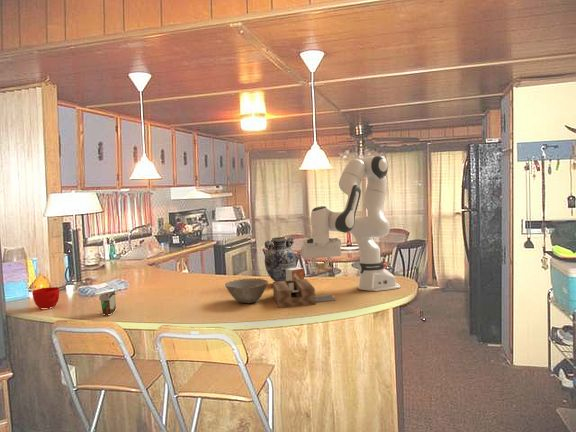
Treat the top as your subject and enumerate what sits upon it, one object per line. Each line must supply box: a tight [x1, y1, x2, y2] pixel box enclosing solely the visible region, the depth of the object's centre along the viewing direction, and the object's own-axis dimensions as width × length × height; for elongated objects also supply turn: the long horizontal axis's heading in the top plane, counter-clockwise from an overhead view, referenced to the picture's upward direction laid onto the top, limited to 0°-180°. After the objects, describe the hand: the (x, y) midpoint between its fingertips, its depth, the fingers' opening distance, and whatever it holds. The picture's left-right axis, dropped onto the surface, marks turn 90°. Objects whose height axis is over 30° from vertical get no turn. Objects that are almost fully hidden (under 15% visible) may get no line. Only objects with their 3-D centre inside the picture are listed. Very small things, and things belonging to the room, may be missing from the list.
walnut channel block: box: [272, 278, 316, 309], centre depth 252 cm, size 18×24×8 cm
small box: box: [286, 266, 305, 281], centre depth 272 cm, size 8×6×13 cm
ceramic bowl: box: [224, 277, 269, 304], centre depth 255 cm, size 22×23×10 cm
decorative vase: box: [264, 236, 297, 282], centre depth 293 cm, size 21×19×28 cm
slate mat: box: [315, 294, 336, 303], centre depth 252 cm, size 10×10×1 cm
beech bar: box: [315, 262, 329, 274], centre depth 250 cm, size 4×10×4 cm, turn 8°
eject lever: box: [288, 283, 298, 294], centre depth 253 cm, size 5×18×6 cm, turn 7°
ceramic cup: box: [32, 286, 60, 309], centre depth 265 cm, size 13×17×10 cm
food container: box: [98, 290, 117, 315], centre depth 246 cm, size 12×6×10 cm, turn 5°
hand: (321, 266), depth 250 cm, fingers closed on beech bar, 4 cm apart
